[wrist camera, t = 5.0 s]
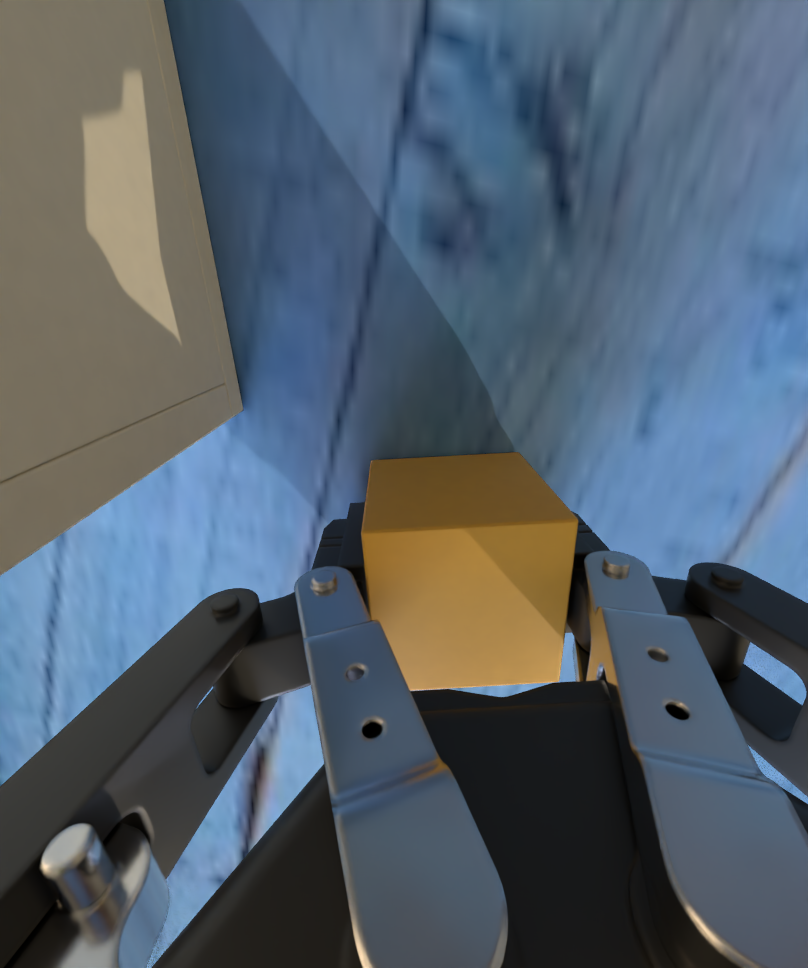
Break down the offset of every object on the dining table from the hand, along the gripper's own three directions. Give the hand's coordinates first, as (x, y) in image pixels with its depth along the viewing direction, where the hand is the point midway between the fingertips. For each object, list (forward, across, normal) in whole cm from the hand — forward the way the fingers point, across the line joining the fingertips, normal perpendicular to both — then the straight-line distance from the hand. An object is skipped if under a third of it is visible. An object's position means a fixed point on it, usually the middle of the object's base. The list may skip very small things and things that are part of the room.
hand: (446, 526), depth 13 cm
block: (0, 0, 0) cm, 0 cm away
